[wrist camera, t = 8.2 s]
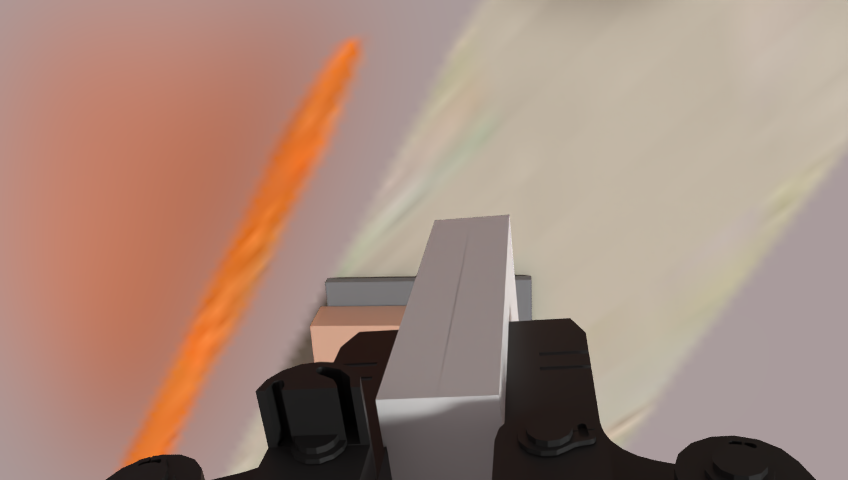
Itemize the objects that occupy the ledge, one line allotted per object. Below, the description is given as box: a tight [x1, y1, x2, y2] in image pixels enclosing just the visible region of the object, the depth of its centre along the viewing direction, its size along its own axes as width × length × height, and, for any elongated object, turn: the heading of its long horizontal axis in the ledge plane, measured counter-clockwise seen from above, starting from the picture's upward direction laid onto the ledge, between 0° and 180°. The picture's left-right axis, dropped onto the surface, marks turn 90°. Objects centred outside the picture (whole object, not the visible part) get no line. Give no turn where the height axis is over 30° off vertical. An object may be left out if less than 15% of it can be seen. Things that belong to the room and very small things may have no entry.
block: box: [310, 306, 406, 363], centre depth 45 cm, size 3×9×9 cm
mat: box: [325, 276, 532, 321], centre depth 46 cm, size 12×12×1 cm
